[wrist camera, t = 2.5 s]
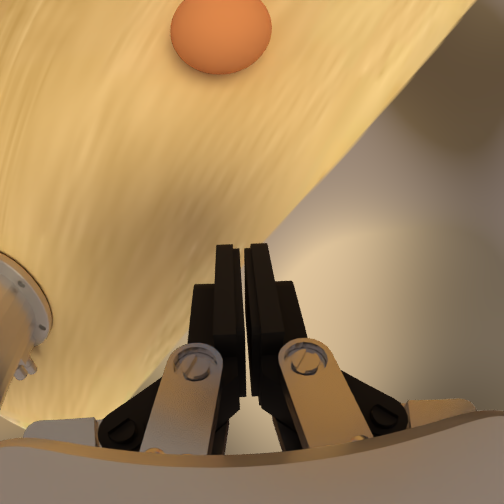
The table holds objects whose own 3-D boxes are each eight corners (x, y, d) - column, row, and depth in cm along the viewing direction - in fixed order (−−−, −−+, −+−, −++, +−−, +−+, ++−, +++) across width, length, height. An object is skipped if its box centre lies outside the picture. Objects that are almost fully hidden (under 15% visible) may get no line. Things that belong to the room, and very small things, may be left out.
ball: (264, 73, 18) (279, 74, 14) (178, 76, 18) (163, 79, 13) (265, -4, 15) (279, -26, 11) (177, -1, 15) (162, -23, 10)
